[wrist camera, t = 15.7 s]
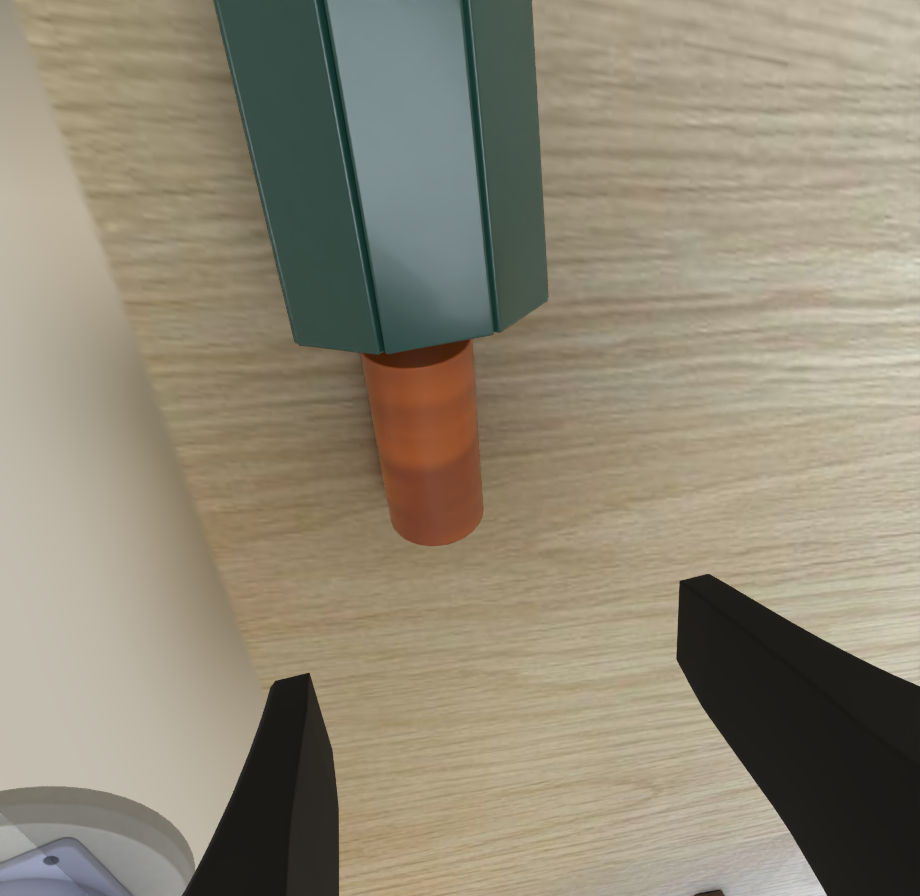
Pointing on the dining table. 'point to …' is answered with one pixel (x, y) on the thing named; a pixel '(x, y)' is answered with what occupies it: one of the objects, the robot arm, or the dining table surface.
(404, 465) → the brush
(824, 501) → the dining table surface
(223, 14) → the octagonal container
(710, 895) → the small blocks
